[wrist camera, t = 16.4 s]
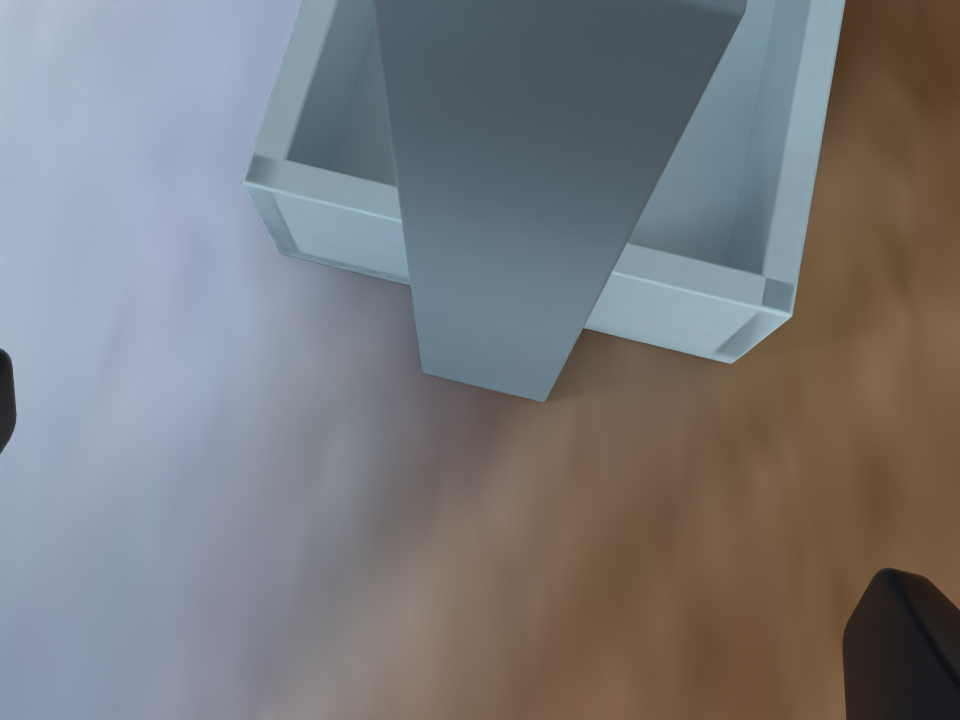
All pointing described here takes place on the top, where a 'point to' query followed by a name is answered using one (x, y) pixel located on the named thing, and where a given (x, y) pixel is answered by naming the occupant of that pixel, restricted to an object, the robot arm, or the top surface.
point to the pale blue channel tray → (553, 169)
